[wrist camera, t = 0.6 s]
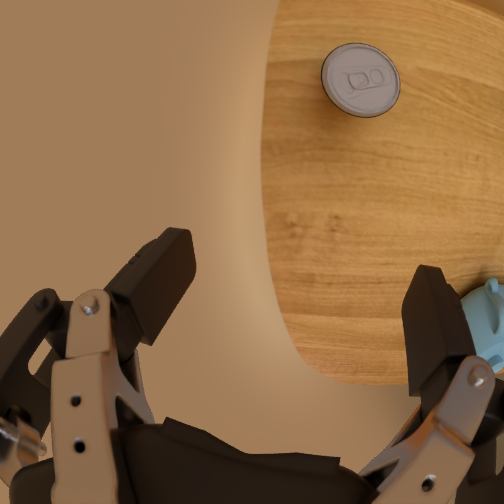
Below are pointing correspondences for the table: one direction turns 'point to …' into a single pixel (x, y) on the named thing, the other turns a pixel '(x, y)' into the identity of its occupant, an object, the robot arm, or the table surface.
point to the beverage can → (360, 80)
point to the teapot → (487, 321)
